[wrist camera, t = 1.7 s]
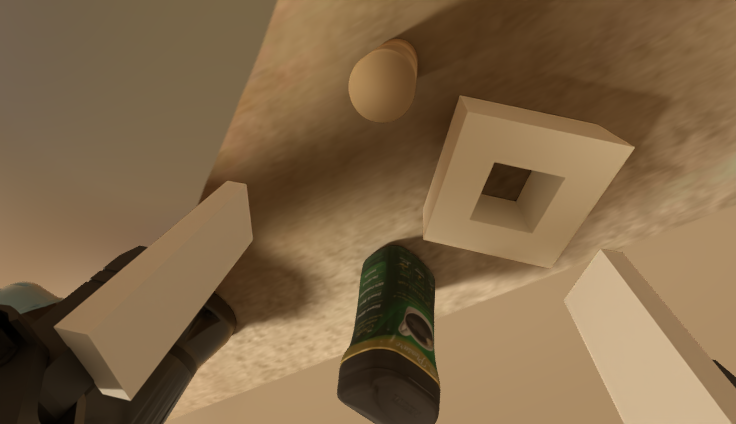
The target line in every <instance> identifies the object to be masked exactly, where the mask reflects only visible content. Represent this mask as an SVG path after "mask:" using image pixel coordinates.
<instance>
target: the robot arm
mask: <svg viewBox="0 0 736 424" xmlns="http://www.w3.org/2000/svg"><path fill="white" fill-rule="evenodd" d="M252 241H253V234H252V226H251V218H250V209H249V201H248V193H247V184H243V183H238V182H232V181H226V182H225V183H224V184H223V185H222V186H220V187H219V188H218V189H217V190H216V191H214V192H213V193H212V194H211V195H210V196H209V197H207V198H206V199H205V200H204V201H203V202H201V203H200V204H199V205H198V206H197V207H195V208H194V209H193V210H192V211H191V212H190V213H188V214H187V215H186V216H185V217H184V218H182V219H181V220H180V221H179V222H178V223H176V224H175V225H174V226H173V227H172V228H170V229H169V230H168V231H167V232H166V233H165V234H163V235H162V236H161V237H160V238H159V239H157V240H156V241H155V242H154V243H153V244H151V245H150V246H149V247H144V246H138V247H136V248H134V249H132V250H130V251H128V252H125V253H123V254H122V255H119V256H118V257H117V258H116V259H114V260H113V261H112V262H110V263H109V264H108V265H107V266H105V267H104V269H103V271H99V272H98V273H97V274H95V275H94V276H93V277H91V278H90V281H89V282H85V283H84V284H83V285H81V286H80V287H79V288H78V289H76V290H75V291H74V292H72V293H71V294H70V295H69V296H68V297H66V298H65V299H63V298H58V297H57V296H55V295H54V294H52V293H50V292H49V291H47V290H46V289H44V288H43V287H41V286H40V285H38V284H35V283H31V282H18V283H13V284H10V285H8V286H6V287H3V288H1V289H0V424H164V423H165V421H166V419H167V418H168V416H169V415H170V413H171V411H172V410H173V408H174V407H175V405H176V403H177V402H178V400H179V399H180V397H181V395H182V394H183V392H184V391H185V389H186V387H187V386H188V384H189V383H190V381H191V379H192V378H193V376H194V375H195V373H196V371H197V370H198V369H199V367H200V366H201V365H203V364H204V363H205V362H206V361H207V360H208V359H209V358H210V357H211V356H213V355H214V354H215V353H216V352H217V351H218V350H219V349H220V348H221V347H222V346H224V345H225V344H226V343H227V341H228V340H229V339H230V337H231V335H232V334H233V332H234V330H235V328H236V319H235V316H234V314H233V312H232V310H231V309H230V308H229V306H228V305H227V304H226V303H225V302H224V301H223V300H222V299H221V298H219V297H218V296H217V295H215V294H214V293H213V292H214V291H215V289H216V288H217V287H218V285H219V284H220V283H221V282H222V280H223V279H224V278H225V276H226V275H227V274H228V272H229V271H230V270H231V268H232V267H233V266H234V264H235V263H236V262H237V261H238V259H239V258H240V257H241V255H242V254H243V253H244V251H245V250H246V249H247V247H248V246H249V245H250V243H251V242H252ZM564 302H565V304H566V306H567V308H568V310H569V312H570V314H571V316H572V318H573V320H574V322H575V324H576V326H577V328H578V330H579V332H580V334H581V336H582V339H583V341H584V343H585V345H586V347H587V349H588V351H589V353H590V355H591V357H592V359H593V361H594V363H595V365H596V367H597V369H598V371H599V373H600V375H601V377H602V380H603V382H604V384H605V386H606V388H607V390H608V392H609V394H610V396H611V398H612V400H613V402H614V404H615V406H616V408H617V410H618V412H619V414H620V416H621V418H622V421H623V423H624V424H736V377H735V376H734V375H732V374H731V373H730V372H729V371H728V370H726V369H725V368H724V367H723V366H722V365H721V364H719V363H718V362H717V361H716V360H712V359H711V358H710V357H709V356H708V355H707V353H706V352H705V351H704V350H703V348H702V347H701V346H700V345H699V344H698V342H697V341H696V340H695V339H694V338H693V337H692V335H691V334H690V333H689V332H688V330H687V329H686V328H685V327H684V326H683V325H682V323H681V322H680V321H679V320H678V318H677V317H676V316H675V315H674V314H673V313H672V311H671V310H670V309H669V308H668V307H667V305H666V304H665V303H664V302H663V301H662V299H661V298H660V297H659V296H658V294H657V293H656V292H655V291H654V290H653V288H652V287H651V286H650V285H649V284H648V282H647V281H646V280H645V279H644V278H643V276H642V275H641V274H640V273H639V272H638V270H637V269H636V268H635V267H634V266H633V265H632V263H631V262H630V261H629V260H628V258H627V257H626V256H625V255H624V254H623V253H622V252H617V251H611V250H606V249H600V250H599V251H598V253H597V254H596V255H595V257H594V258H593V260H592V261H591V262H590V264H589V266H588V267H587V268H586V270H585V271H584V272H583V274H582V275H581V277H580V278H579V280H578V281H577V282H576V284H575V285H574V287H573V288H572V290H571V291H570V292H569V294H568V295H567V297H566V298H565V300H564Z"/></svg>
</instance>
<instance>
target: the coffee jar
mask: <svg viewBox="0 0 736 424" xmlns="http://www.w3.org/2000/svg"><path fill="white" fill-rule="evenodd" d="M434 303H435V280H434V276H433V275H432V273H431V272H430V270H429V269H428V268H427V267H426V266H425V265H424V264H423V263H422V262H421V261H420V260H419V259H418V258H417V257H416V256H415V255H413V254H412V253H411V252H410V251H408V250H407V249H405V248H403V247H400V246H388V247H385V248H382V249H380V250H378V251H377V252H375V253H373V254H372V255H371V256H370V257H368V258H367V259H366V260H365V262H364V264H363V268H362V273H361V280H360V289H359V298H358V306H357V313H356V320H355V327H354V332H353V337H352V340H351V344H350V346H349V348H348V349H347V351H346V352H345V354H344V355H343V358H342V360H341V363H340V371H339V380H338V381H339V382H338V389H337V395H338V398H339V399H340V401H342V402H343V403H344V404H345V405H347V406H348V407H350V408H351V409H353V410H355V411H356V412H358V413H359V414H361V415H362V416H364V417H365V418H367V419H369V420H370V421H372V422H373V423H375V424H435V423H436V421H437V418H438V414H439V403H440V382H439V377H438V372H437V368H436V362H435V353H434Z"/></svg>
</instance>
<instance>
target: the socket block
mask: <svg viewBox="0 0 736 424" xmlns="http://www.w3.org/2000/svg"><path fill="white" fill-rule="evenodd" d="M634 148H635V147H634V146H632V145H630V144H629V143H627V142H626V141H624V140H622V139H621V138H619V137H617V136H616V135H614V134H612V133H611V132H609V131H608V130H606V129H604V128H603V127H601V126H599V125H598V124H593V123H589V122H584V121H579V120H575V119H570V118H565V117H561V116H556V115H551V114H546V113H542V112H537V111H532V110H528V109H523V108H518V107H514V106H509V105H504V104H499V103H495V102H490V101H485V100H481V99H476V98H471V97H467V96H462V95H460V96H459V99H458V102H457V105H456V109H455V112H454V115H453V118H452V121H451V124H450V127H449V130H448V133H447V136H446V139H445V142H444V146H443V149H442V152H441V155H440V158H439V161H438V164H437V167H436V170H435V173H434V176H433V179H432V182H431V186H430V189H429V192H428V195H427V198H426V201H425V204H424V207H423V240H426V241H431V242H435V243H440V244H444V245H448V246H453V247H457V248H461V249H466V250H470V251H475V252H479V253H483V254H488V255H492V256H497V257H501V258H505V259H510V260H514V261H518V262H523V263H527V264H532V265H536V266H540V267H545V268H549V269H551V268H552V266H553V265H554V263H555V262H556V261H557V259H558V258H559V256H560V255H561V253H562V252H563V250H564V249H565V248H566V246H567V245H568V243H569V242H570V240H571V239H572V238H573V236H574V235H575V233H576V232H577V230H578V229H579V227H580V226H581V225H582V223H583V222H584V220H585V219H586V217H587V216H588V215H589V213H590V212H591V210H592V209H593V207H594V206H595V204H596V203H597V202H598V200H599V199H600V197H601V196H602V194H603V193H604V191H605V190H606V189H607V187H608V186H609V184H610V183H611V181H612V180H613V179H614V177H615V176H616V174H617V173H618V171H619V170H620V168H621V167H622V166H623V164H624V163H625V161H626V160H627V158H628V157H629V156H630V154H631V153H632V151H633V150H634ZM494 162H496V163H501V164H506V165H510V166H515V167H519V168H524V169H528V170H532V172H531V173H530V175H529V177H528V179H527V181H526V183H525V185H524V187H523V189H522V191H521V193H520V195H519V197H518V198H517V200H516V202H515V201H511V200H506V199H502V198H497V197H493V196H488V195H484V194H481V192H482V190H483V187H484V185H485V183H486V180H487V178H488V176H489V173H490V171H491V169H492V167H493V164H494Z"/></svg>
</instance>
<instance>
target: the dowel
mask: <svg viewBox="0 0 736 424" xmlns="http://www.w3.org/2000/svg"><path fill="white" fill-rule="evenodd" d="M417 67H418V58H417V54H416V51H415V49H414V48H413V46H412V45H411V44H410V43H409V42H407V41H405V40H402V39H391V40H388V41H386V42H385V43H383V44H382V45H381V46H379V47H378V48H376V49H375V50H373V51H372V52H371V53H369V54H368V55H366V56H365V57H363V58H362V59H361V60H360V61H359V62H358V63H357V64H356V65H355V67H354V68H353V70H352V73H351V75H350V79H349V95H350V99H351V102H352V104H353V106H354V107H355V109H356V110H357V111H358V112H359V113H360V114H361V115H362V116H363V117H364V118H366V119H368V120H370V121H373V122H377V123H387V122H392V121H394V120H396V119H398V118H400V117H401V116H403V115H404V114H405V113H406V112H407V110H408V109H409V108H410V106H411V104H412V102H413V100H414V96H415V90H416V79H417Z"/></svg>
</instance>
